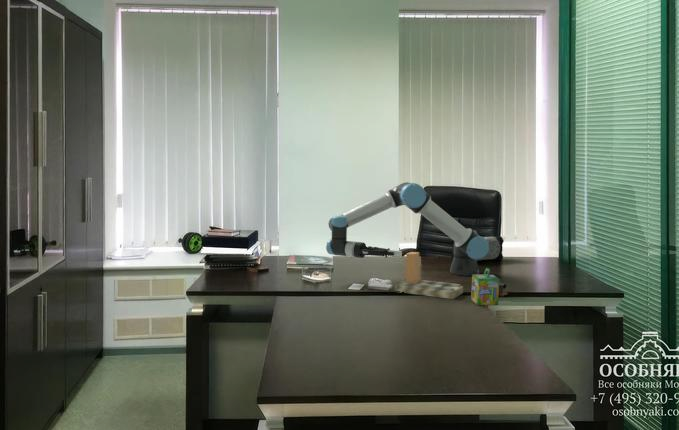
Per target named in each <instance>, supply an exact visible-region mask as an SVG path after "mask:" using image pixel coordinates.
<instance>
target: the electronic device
mask: <svg viewBox="0 0 679 430" xmlns="http://www.w3.org/2000/svg"><path fill="white" fill-rule="evenodd" d="M505 289H507V284H504V283H502V281H501V278H499V294H498V297H501V298H503V297H507V295H508V294H509V293H508V292H505V291H503V290H505Z"/></svg>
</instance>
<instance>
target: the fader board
mask: <svg viewBox="0 0 679 430" xmlns="http://www.w3.org/2000/svg"><path fill="white" fill-rule="evenodd" d="M395 291H400V292H399V293H402V292H404V293H403V294H410V295H411V294H412V295H418V296H426V297H427V296H428V297H434V298H443V299H449V300H454V299H456V298H457V297H459V296H460V295H462V294H463V293H464V286H462V285H461V283H452V282H444V281H443V282H441V281H433V280H425V279H424V280H423V279H419V282H418V283H416V284H413V283H406V277H405V278H404V280H403V281H397V282H396V284H394V292H395Z"/></svg>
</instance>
